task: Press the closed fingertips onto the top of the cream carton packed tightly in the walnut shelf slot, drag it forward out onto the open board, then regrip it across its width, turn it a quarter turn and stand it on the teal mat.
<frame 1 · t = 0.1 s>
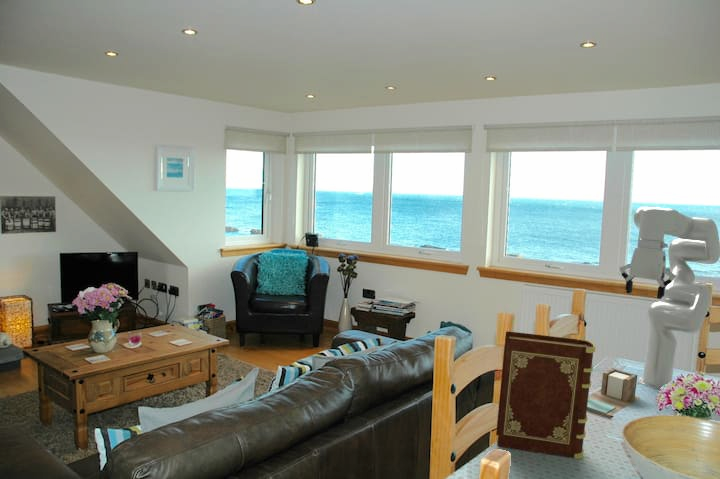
hand: (644, 295, 186), 37 cm above the table, tool pointing down, fingers open, 9 cm apart
carton: (617, 395, 190), point 1 cm above the table, touching shelf rack
shelf rack: (607, 403, 185), on the table
decorative book: (538, 447, 149), on the table
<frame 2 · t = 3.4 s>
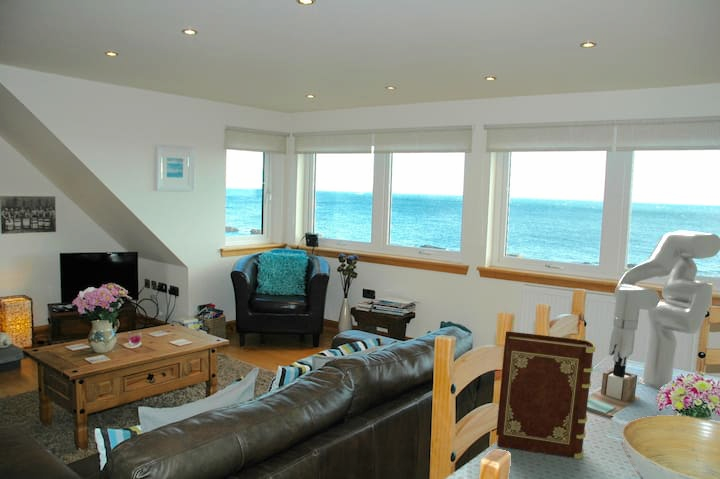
hand: (618, 375, 189), 8 cm above the table, tool pointing down, fingers closed
carton: (616, 395, 190), point 1 cm above the table, touching gripper, shelf rack
everything else where it was.
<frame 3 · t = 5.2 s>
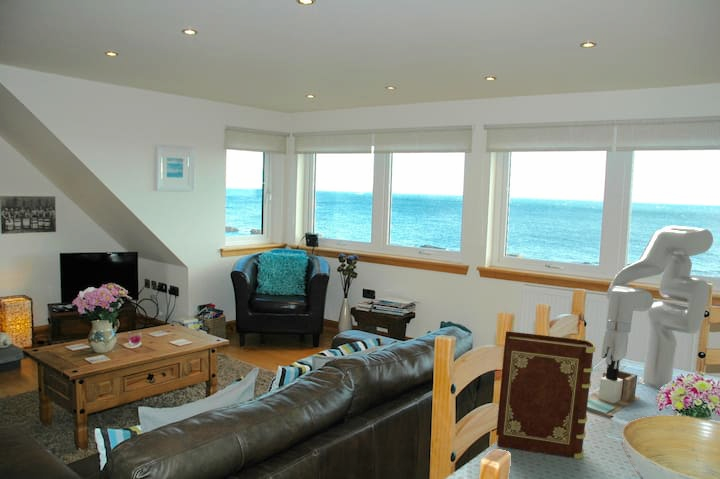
hand: (611, 379, 185), 8 cm above the table, tool pointing down, fingers closed
carton: (609, 399, 186), point 1 cm above the table, touching gripper, shelf rack
everything else where it was.
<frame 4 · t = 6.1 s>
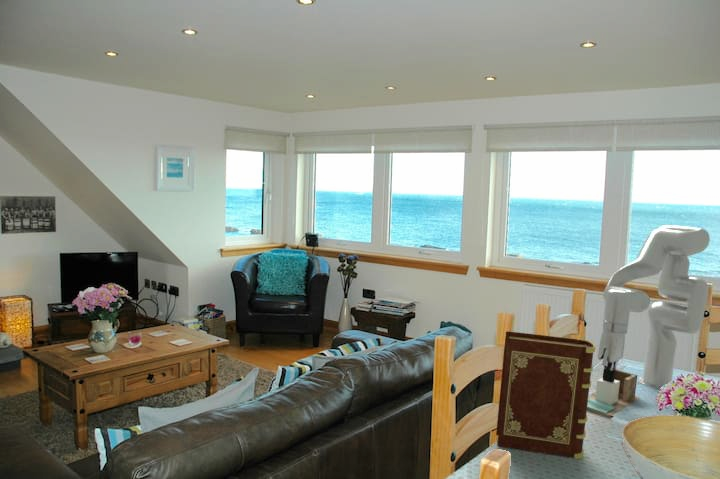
hand: (608, 380, 183), 8 cm above the table, tool pointing down, fingers closed
carton: (606, 400, 184), point 1 cm above the table, touching gripper, shelf rack
everything else where it was.
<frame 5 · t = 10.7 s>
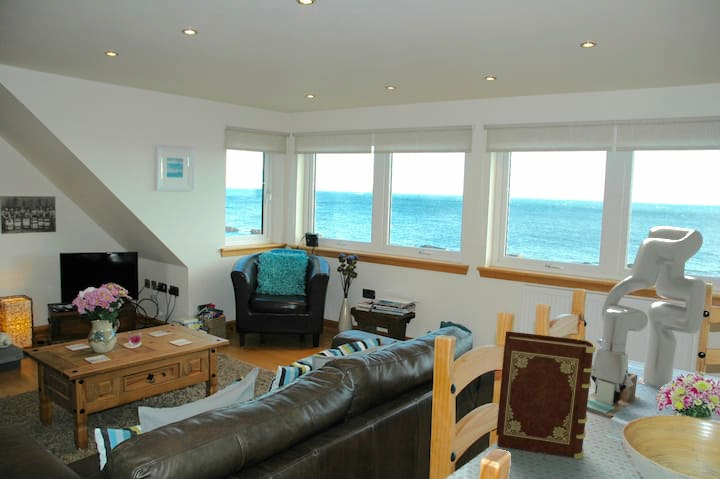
hand: (607, 398, 184), 2 cm above the table, tool pointing down, fingers closed on carton, 5 cm apart
carton: (606, 400, 184), point 1 cm above the table, touching gripper, shelf rack
everything else where it was.
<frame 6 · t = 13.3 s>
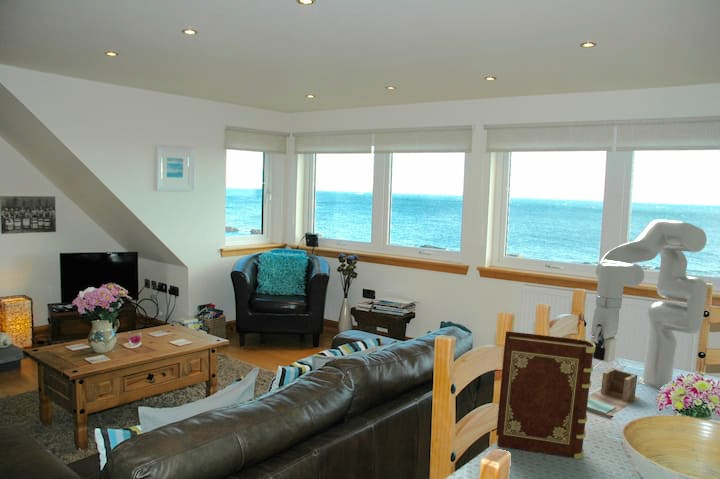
hand: (602, 357, 177), 17 cm above the table, tool pointing down, fingers closed on carton, 5 cm apart
carton: (601, 358, 177), point 17 cm above the table, touching gripper
everything else where it was.
when the fingers open (3 cm above the table, at t = 16.3 s): carton drops 1 cm, resting on shelf rack.
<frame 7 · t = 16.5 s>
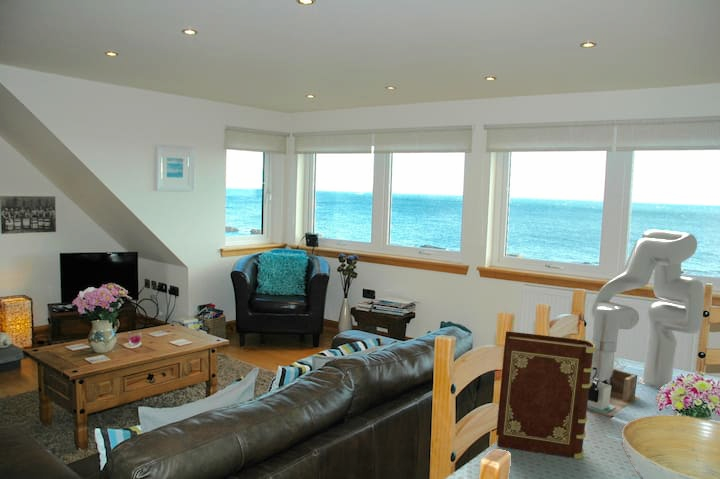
hand: (597, 397, 179), 4 cm above the table, tool pointing down, fingers open, 7 cm apart
carton: (596, 405, 179), point 1 cm above the table, touching shelf rack
everything else where it was.
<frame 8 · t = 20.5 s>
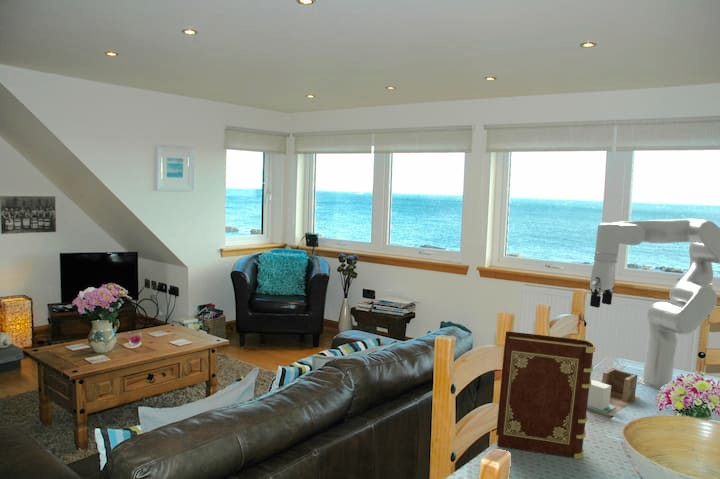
hand: (600, 305, 196), 30 cm above the table, tool pointing down, fingers open, 9 cm apart
nothing on the table moved.
at the end: carton 0.2 cm from the target spot on the shelf rack, point 1.3 cm above the shelf rack's base; carton tilted 0°; the gripper is holding nothing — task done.
